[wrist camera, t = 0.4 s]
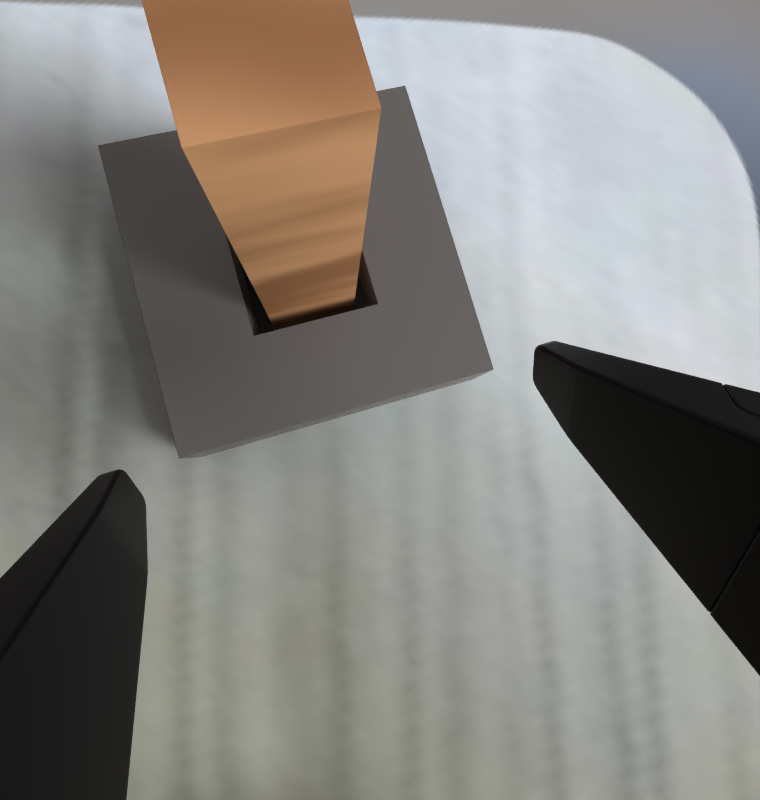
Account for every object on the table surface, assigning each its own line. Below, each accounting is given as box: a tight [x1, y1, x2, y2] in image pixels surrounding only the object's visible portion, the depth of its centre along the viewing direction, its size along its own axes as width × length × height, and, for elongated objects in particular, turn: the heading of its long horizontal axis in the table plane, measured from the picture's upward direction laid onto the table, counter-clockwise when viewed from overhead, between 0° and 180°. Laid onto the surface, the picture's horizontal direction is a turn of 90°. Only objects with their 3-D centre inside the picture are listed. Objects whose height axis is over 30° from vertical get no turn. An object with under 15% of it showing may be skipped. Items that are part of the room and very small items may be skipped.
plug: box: [142, 0, 381, 330], centre depth 16 cm, size 4×4×14 cm
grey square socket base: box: [98, 86, 493, 459], centre depth 21 cm, size 14×14×3 cm
